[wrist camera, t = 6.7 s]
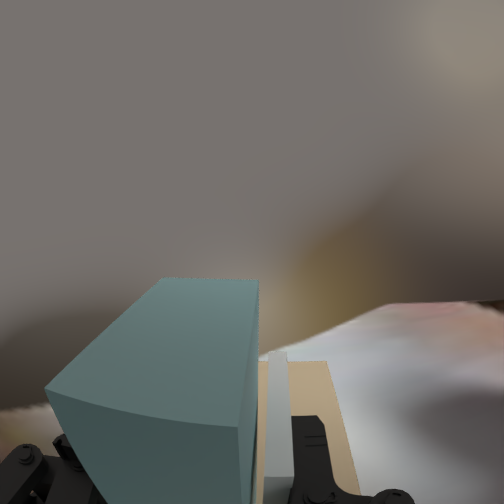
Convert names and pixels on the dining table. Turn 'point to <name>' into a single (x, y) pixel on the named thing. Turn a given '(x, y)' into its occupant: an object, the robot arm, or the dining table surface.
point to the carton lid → (186, 399)
